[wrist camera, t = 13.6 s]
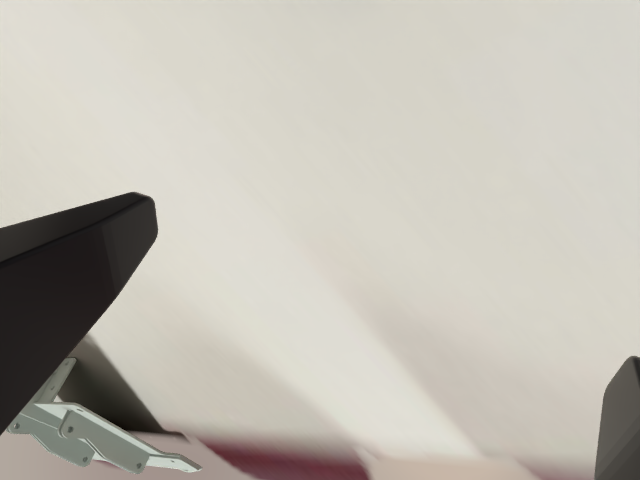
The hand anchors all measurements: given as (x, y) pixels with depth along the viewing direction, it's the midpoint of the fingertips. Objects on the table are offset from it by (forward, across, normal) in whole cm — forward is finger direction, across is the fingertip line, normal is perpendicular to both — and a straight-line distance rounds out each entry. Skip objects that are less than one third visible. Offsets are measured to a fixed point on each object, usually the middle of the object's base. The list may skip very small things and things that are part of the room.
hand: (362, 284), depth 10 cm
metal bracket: (+11, +28, +39) cm, 50 cm away
